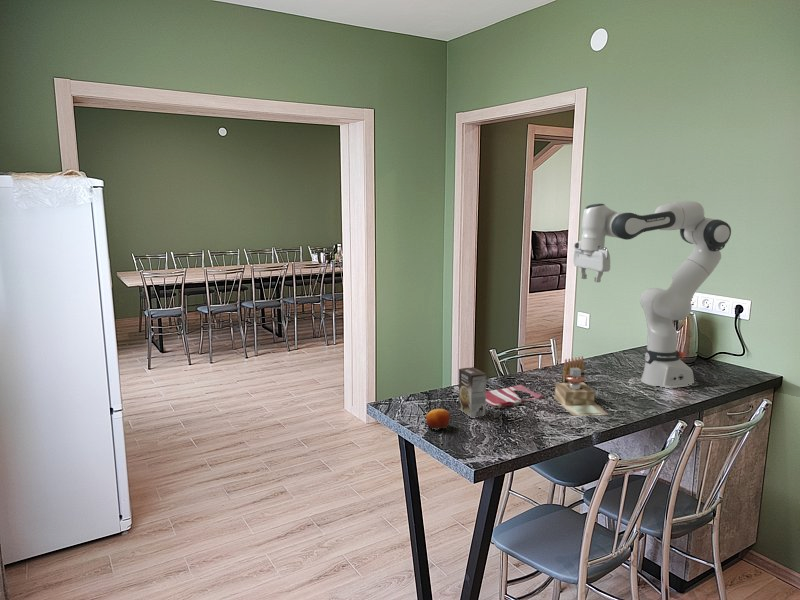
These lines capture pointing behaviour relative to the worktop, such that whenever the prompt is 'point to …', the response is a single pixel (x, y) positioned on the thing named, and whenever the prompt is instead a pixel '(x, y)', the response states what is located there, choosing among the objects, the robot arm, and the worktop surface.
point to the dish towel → (508, 396)
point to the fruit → (438, 418)
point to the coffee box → (472, 391)
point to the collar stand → (577, 400)
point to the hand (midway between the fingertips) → (590, 280)
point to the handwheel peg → (575, 378)
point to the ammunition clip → (572, 364)
